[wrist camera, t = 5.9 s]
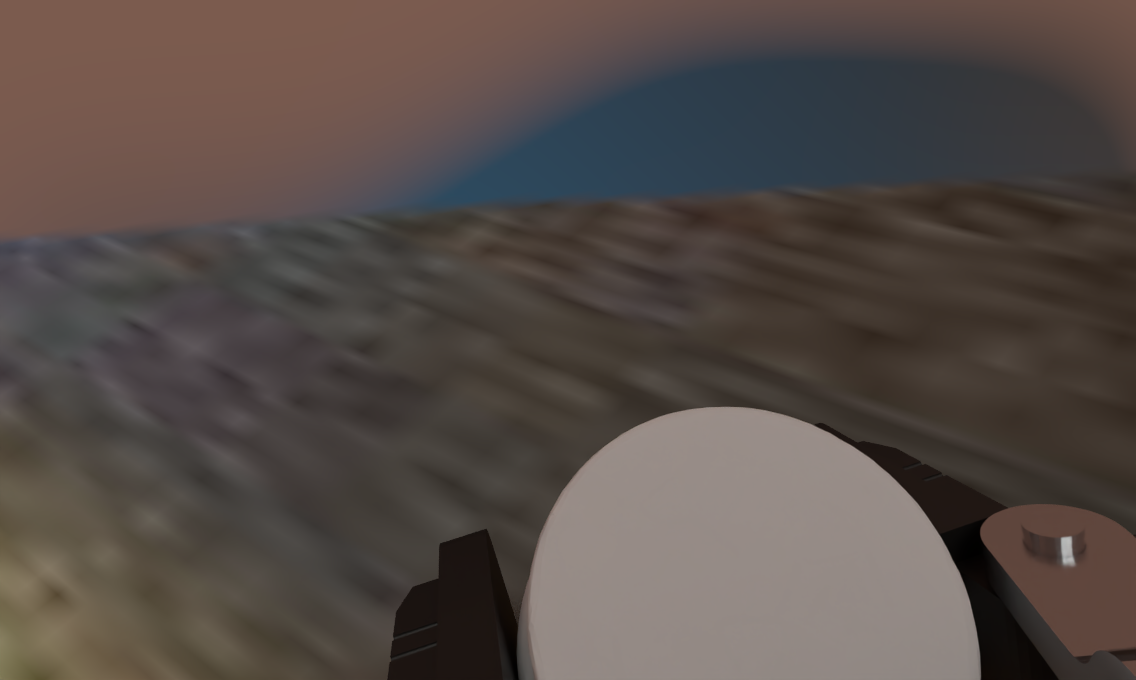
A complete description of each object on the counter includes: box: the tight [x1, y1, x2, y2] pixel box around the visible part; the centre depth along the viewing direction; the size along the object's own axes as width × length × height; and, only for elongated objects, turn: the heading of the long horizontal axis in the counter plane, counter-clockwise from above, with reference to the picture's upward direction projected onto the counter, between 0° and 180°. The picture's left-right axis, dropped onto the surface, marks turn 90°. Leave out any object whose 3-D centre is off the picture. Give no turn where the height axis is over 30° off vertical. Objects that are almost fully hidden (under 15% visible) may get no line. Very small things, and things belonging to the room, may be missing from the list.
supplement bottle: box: [516, 407, 981, 680], centre depth 10 cm, size 5×5×8 cm
